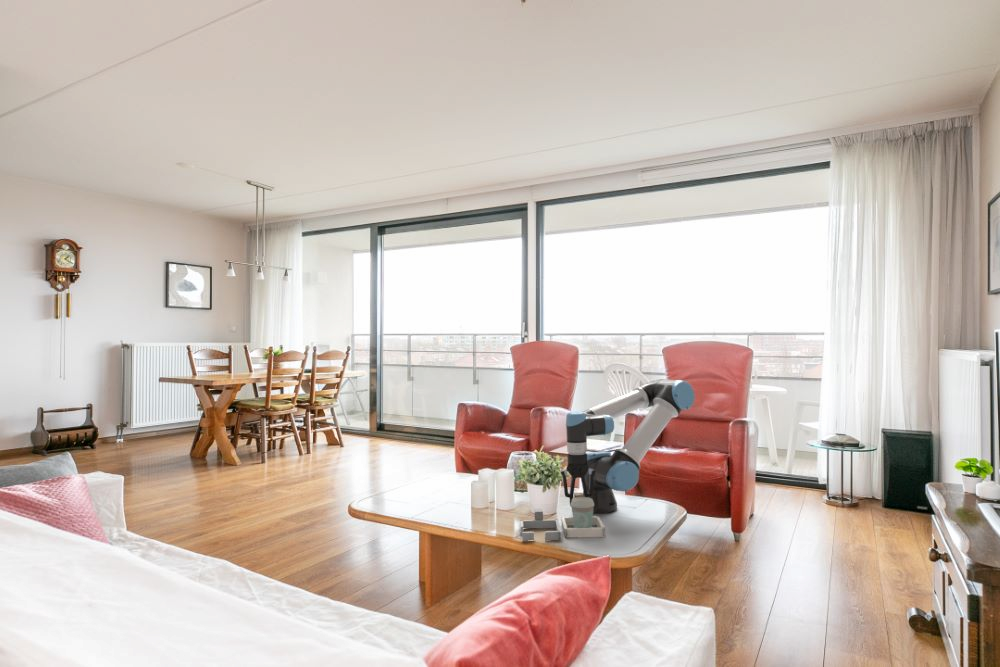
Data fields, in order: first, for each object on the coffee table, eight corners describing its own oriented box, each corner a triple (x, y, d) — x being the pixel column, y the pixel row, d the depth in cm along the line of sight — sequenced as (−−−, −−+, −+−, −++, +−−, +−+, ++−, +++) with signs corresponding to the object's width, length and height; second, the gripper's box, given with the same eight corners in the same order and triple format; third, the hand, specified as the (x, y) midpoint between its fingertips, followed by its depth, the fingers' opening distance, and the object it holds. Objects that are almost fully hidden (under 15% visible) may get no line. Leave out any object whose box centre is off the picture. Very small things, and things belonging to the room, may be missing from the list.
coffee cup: (566, 532, 215) (565, 499, 215) (583, 527, 220) (581, 495, 221) (583, 538, 208) (582, 503, 209) (600, 533, 214) (599, 499, 214)
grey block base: (520, 525, 226) (519, 509, 226) (557, 524, 226) (556, 508, 226) (521, 541, 207) (520, 524, 207) (561, 540, 207) (560, 523, 207)
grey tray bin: (560, 522, 229) (559, 493, 229) (597, 521, 228) (596, 492, 229) (565, 537, 210) (564, 506, 210) (605, 536, 209) (603, 505, 210)
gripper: (556, 455, 224) (559, 518, 223) (599, 454, 223) (602, 517, 223) (555, 451, 231) (557, 512, 230) (596, 450, 231) (599, 511, 230)
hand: (579, 514), depth 227 cm, fingers closed on grey tray bin, 3 cm apart
